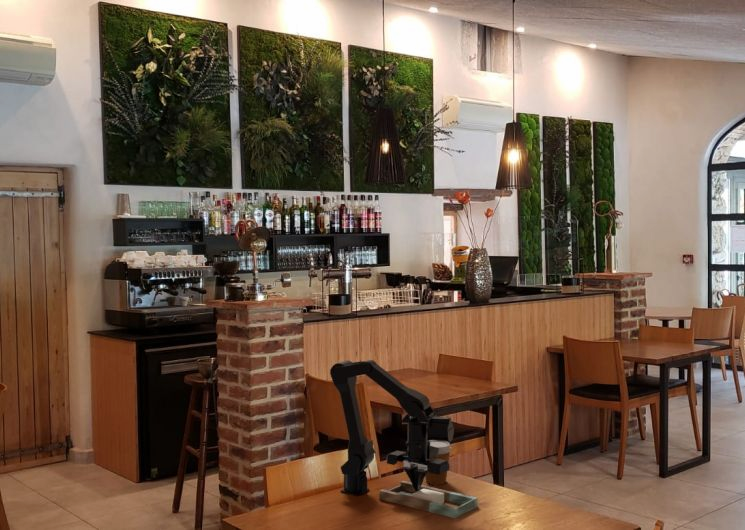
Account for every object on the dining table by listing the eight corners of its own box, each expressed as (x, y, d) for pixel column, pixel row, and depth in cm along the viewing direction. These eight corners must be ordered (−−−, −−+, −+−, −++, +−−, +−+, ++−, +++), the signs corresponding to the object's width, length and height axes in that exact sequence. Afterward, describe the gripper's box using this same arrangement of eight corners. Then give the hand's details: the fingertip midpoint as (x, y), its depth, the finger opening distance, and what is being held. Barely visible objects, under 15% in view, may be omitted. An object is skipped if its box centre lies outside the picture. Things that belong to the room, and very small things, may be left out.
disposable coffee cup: (449, 487, 250) (449, 448, 249) (418, 485, 252) (418, 446, 251) (452, 477, 259) (452, 440, 259) (423, 476, 261) (423, 439, 261)
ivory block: (412, 505, 235) (412, 493, 235) (423, 500, 240) (423, 488, 240) (432, 510, 231) (432, 498, 231) (444, 505, 236) (444, 493, 236)
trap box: (379, 499, 239) (379, 490, 239) (403, 488, 249) (403, 480, 248) (455, 518, 223) (455, 509, 223) (477, 506, 233) (477, 497, 233)
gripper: (459, 437, 238) (459, 490, 239) (407, 428, 249) (407, 478, 250) (438, 445, 229) (438, 500, 230) (385, 435, 241) (385, 487, 241)
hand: (417, 491), depth 238 cm, fingers closed
